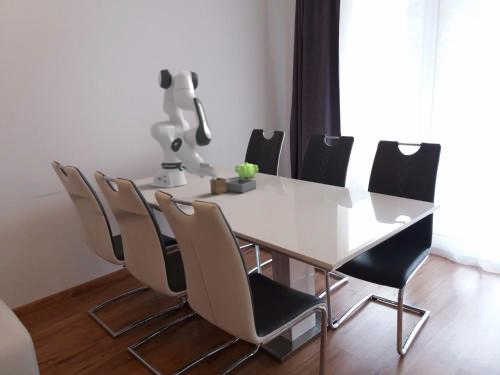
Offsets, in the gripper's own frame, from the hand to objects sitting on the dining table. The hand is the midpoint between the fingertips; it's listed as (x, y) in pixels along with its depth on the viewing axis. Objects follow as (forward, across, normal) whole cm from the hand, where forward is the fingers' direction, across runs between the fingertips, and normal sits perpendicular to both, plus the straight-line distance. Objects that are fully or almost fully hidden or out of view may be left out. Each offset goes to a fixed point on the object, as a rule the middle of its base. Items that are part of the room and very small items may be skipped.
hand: (209, 177), depth 219 cm
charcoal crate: (+20, -6, -6) cm, 22 cm away
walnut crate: (+12, 0, +2) cm, 12 cm away
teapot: (+39, +11, -25) cm, 48 cm away
